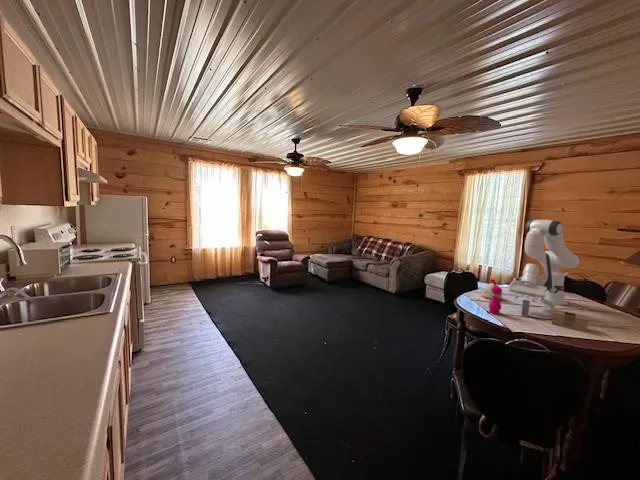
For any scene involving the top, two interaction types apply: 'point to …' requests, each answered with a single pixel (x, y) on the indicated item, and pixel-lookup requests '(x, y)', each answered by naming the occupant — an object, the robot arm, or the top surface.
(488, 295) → the kitchen timer
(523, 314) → the rail bracket
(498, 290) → the pepper mill
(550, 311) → the wall hook
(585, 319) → the wooden block
